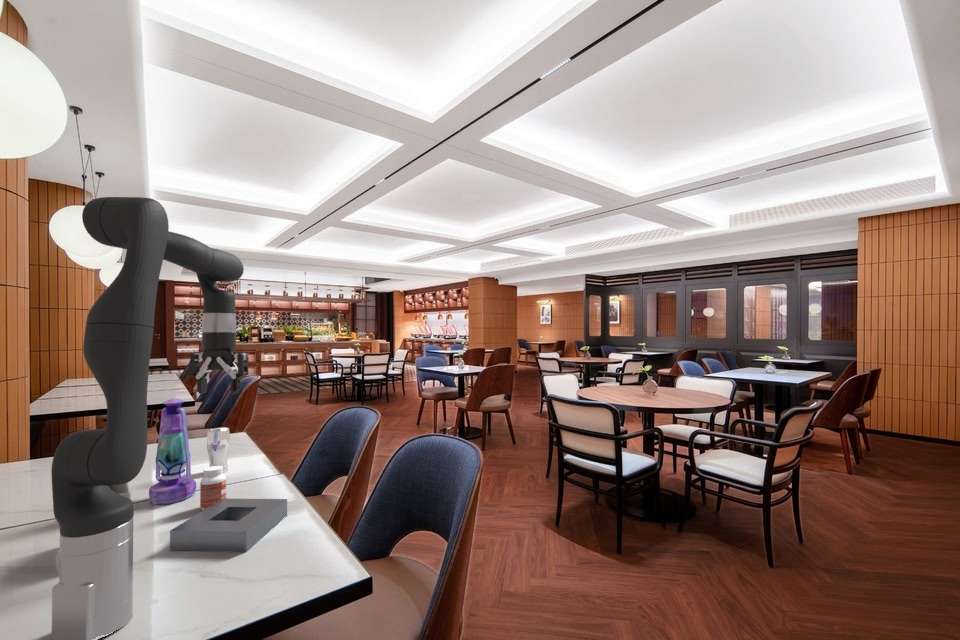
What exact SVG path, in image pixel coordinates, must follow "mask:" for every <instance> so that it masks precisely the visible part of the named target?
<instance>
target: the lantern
mask: <svg viewBox="0 0 960 640" xmlns="http://www.w3.org/2000/svg"><path fill="white" fill-rule="evenodd" d="M184 402H186V401H185V400H183V399H181V398H176V397H174V398H170V399H168V400H165V401H163V402H162V404H164V405H165V407H164V408H162V409H161V415H160V426H159V433H158V439H157V448H156V455H155V456H156V457H155V479H156V481H157V482H158V483H156V484H154V485H151V486H150V487H149V488H148V497H149V501H150V502H151V503H152V504H153V505H167V504H174V503H178V502H181V501H185V500H187V499H188V498H190V497H192V496H193V495H194V494H195V493H196V490H197V481H196V480H195V479H194V478H192V473H191V472H192V471H191V470H192V469H191V468H192V467H191V451H190V443H189V433H188V425H187V413H186V409H184V408H182V404H183V403H184Z"/></svg>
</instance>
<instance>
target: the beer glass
mask: <svg viewBox="0 0 960 640" xmlns="http://www.w3.org/2000/svg"><path fill="white" fill-rule="evenodd" d="M230 433H231V432H230V427H225V426H224V427H222V426H221V427H215V428H210V429H208V430H207V435H206V450H207V455H208V459H209V461H208V462H209V466H208V467H212V466H223V472H222V474H224V473H227V472H228V471H229V466H228V455H229V450H230V444H231V443H230V442H231V439H230V438H231V436H230Z"/></svg>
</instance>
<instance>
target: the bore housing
mask: <svg viewBox="0 0 960 640" xmlns="http://www.w3.org/2000/svg"><path fill="white" fill-rule="evenodd" d="M285 516H286V517H288V499H287V498H226V499H221V500H219V501H218V502H216V503H215V504H213V505H211V506H210V507H208V508H206V509H205V510H203V511H202V510H201V511H200V512H199V513H197V514H194V515H193V516H192V517H190V518H189V519H187V520H185V521H183V522H182V523H180V524H179V525H177V526H176V527H174V528H172V529H170V531H169V551H173V552H175V551H176V552H229V553H230V552H237V553H238V552H242V553H244V552H245V553H247V552H248V551H249V550H251V548H252V547H254V546H255V545H256V544H257V543H259V541H261V540H262V539H263V538H264V537H265V536H266V535H267V534H268V533H269V532H271V531H270V530H271V529H272V528H273V529H274V528H275V527H276V526H278V525H279V524H280V523H281V522H282V521H283V520H284V519H285V518H286V517H285ZM284 517H285V518H284ZM283 518H284V519H283ZM282 519H283V520H282ZM281 520H282V521H281ZM280 521H281V522H280ZM279 522H280V523H279ZM278 523H279V524H278ZM273 529H272V530H273Z"/></svg>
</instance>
